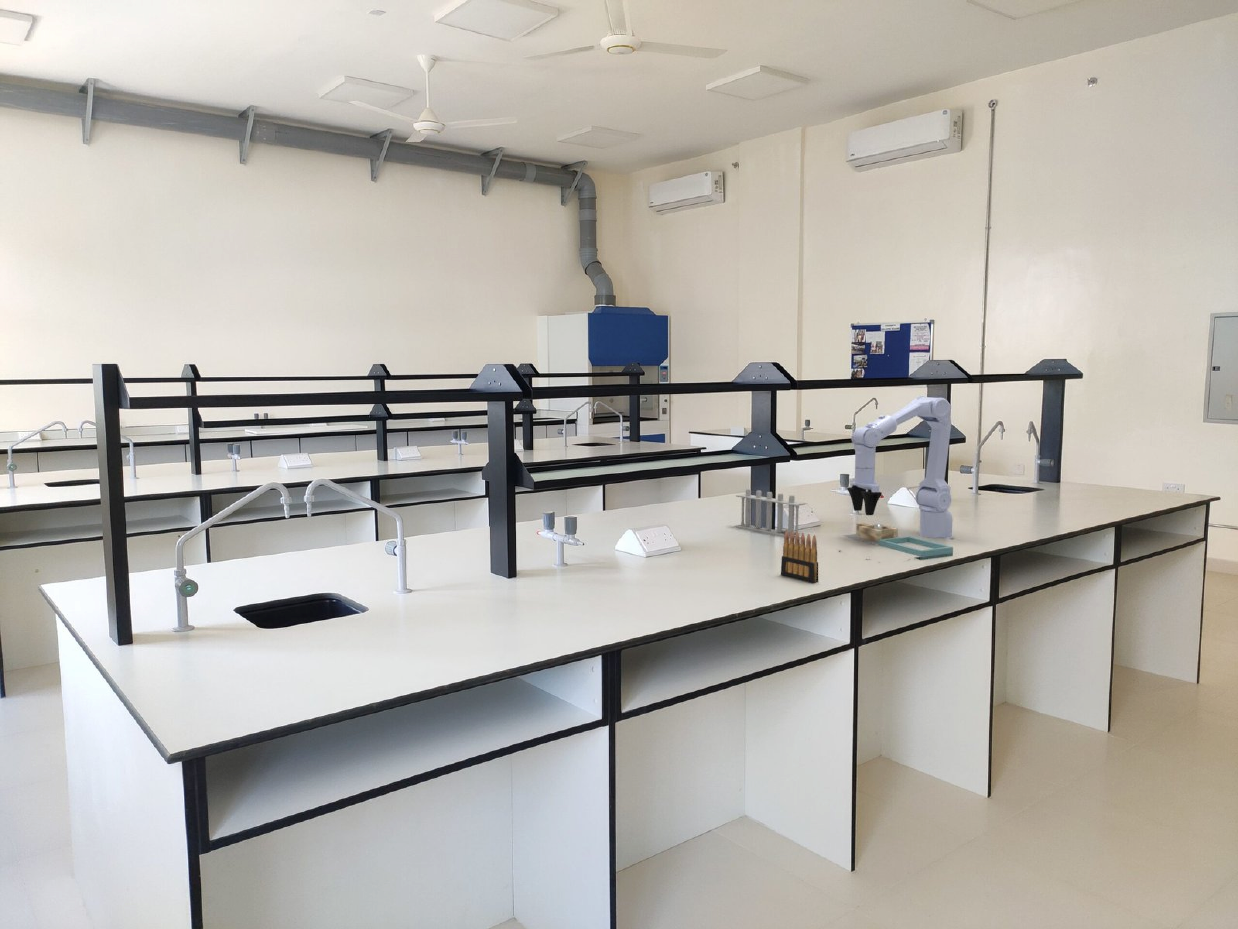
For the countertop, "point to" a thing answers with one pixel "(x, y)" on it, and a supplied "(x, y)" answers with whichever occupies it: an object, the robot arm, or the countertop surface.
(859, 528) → the maple collar
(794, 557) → the ammunition clip
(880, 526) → the board
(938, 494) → the robot arm
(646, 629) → the countertop surface
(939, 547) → the tray
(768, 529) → the test tube rack
